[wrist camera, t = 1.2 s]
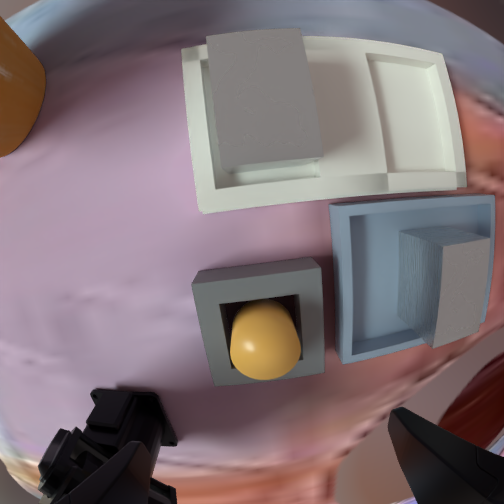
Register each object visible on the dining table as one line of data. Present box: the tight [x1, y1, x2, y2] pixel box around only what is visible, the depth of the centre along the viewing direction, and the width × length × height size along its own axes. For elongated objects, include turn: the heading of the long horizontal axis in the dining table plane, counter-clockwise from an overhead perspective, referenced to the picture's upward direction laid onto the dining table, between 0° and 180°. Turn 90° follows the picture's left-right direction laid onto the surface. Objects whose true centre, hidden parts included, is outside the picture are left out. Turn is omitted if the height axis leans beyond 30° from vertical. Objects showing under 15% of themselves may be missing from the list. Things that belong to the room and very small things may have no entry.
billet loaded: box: [206, 28, 324, 174], centre depth 12 cm, size 6×4×5 cm, turn 7°
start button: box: [230, 299, 301, 380], centre depth 16 cm, size 4×4×3 cm
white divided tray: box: [181, 36, 467, 214], centre depth 15 cm, size 10×17×2 cm, turn 97°
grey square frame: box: [191, 257, 325, 386], centre depth 17 cm, size 7×7×2 cm
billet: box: [397, 226, 490, 349], centre depth 15 cm, size 6×4×5 cm, turn 7°
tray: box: [329, 193, 495, 365], centre depth 17 cm, size 10×13×2 cm
